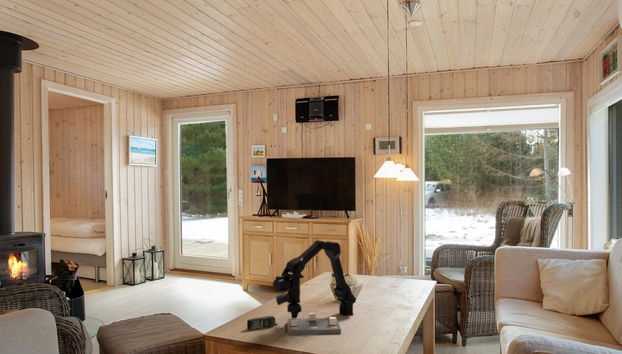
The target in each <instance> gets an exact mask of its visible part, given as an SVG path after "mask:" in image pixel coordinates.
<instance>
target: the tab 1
mask: <svg viewBox="0 0 622 354" xmlns="http://www.w3.org/2000/svg"><path fill="white" fill-rule="evenodd" d="M290 319H291V326H298V319H299V318H298V317H297V318H292V317H290Z"/></svg>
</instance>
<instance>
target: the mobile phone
mask: <svg viewBox="0 0 622 354" xmlns="http://www.w3.org/2000/svg"><path fill="white" fill-rule="evenodd" d="M277 325H278V323H277V322H276V318H275V316H274V315H269V316H260V317H253V318H249V319H247V320H246V326H247V327H246V329H247V330H248V331H253V330H260V329H268V328H269V329H270V328H272V327H274V326H277Z"/></svg>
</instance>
